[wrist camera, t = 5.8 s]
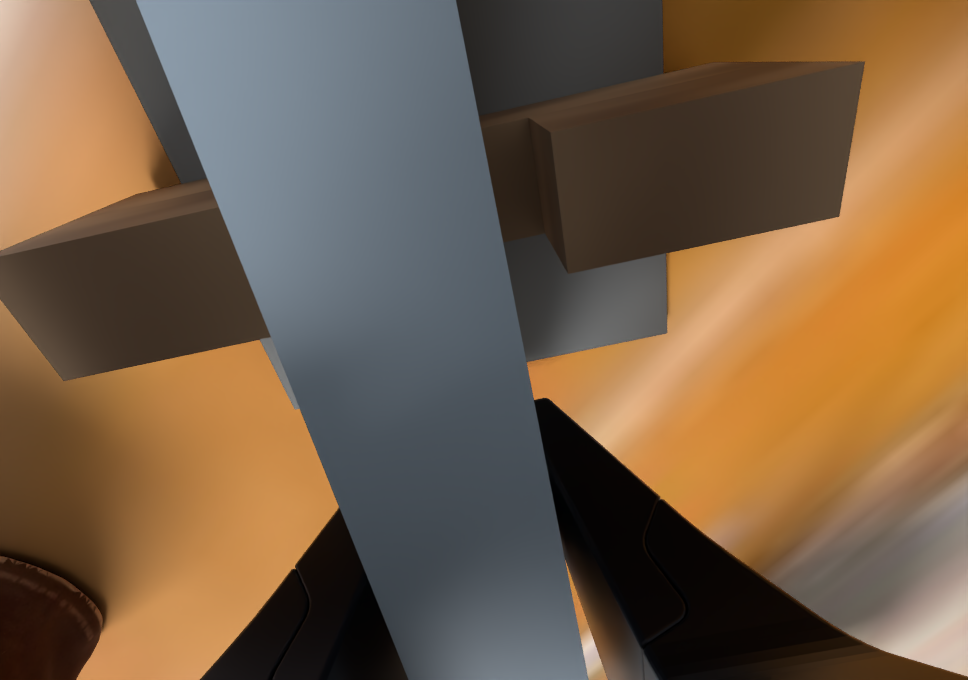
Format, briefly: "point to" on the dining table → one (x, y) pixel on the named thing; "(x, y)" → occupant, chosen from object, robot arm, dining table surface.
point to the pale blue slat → (387, 308)
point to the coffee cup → (43, 624)
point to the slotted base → (515, 181)
